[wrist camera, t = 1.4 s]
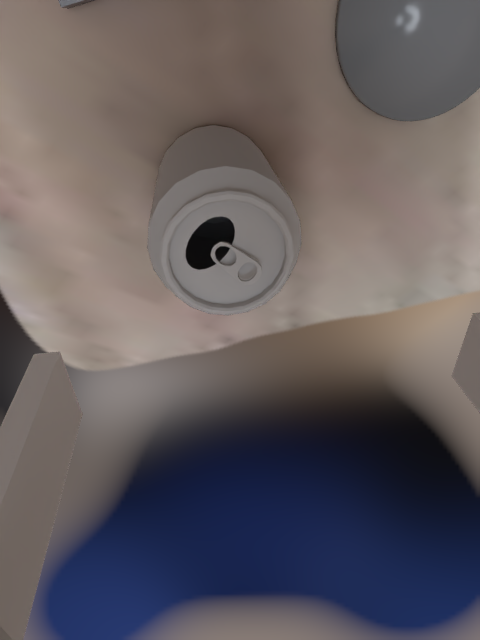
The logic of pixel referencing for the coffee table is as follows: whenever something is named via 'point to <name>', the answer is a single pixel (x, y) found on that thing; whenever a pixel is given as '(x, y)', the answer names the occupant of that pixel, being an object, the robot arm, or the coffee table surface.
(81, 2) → the remote
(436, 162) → the coffee table surface
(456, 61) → the coaster
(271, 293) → the can
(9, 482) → the robot arm
